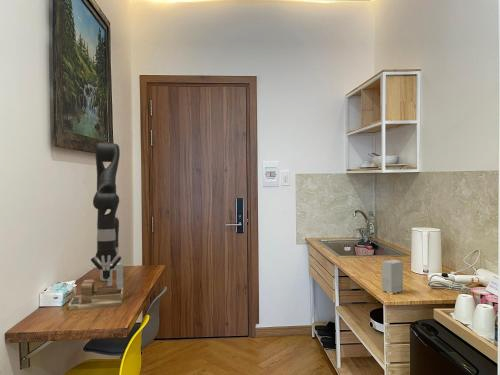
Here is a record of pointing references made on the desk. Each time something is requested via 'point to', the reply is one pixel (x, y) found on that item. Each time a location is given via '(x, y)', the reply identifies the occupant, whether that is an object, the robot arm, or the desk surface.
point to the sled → (108, 287)
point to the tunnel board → (94, 298)
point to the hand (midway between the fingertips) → (106, 278)
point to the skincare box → (117, 275)
